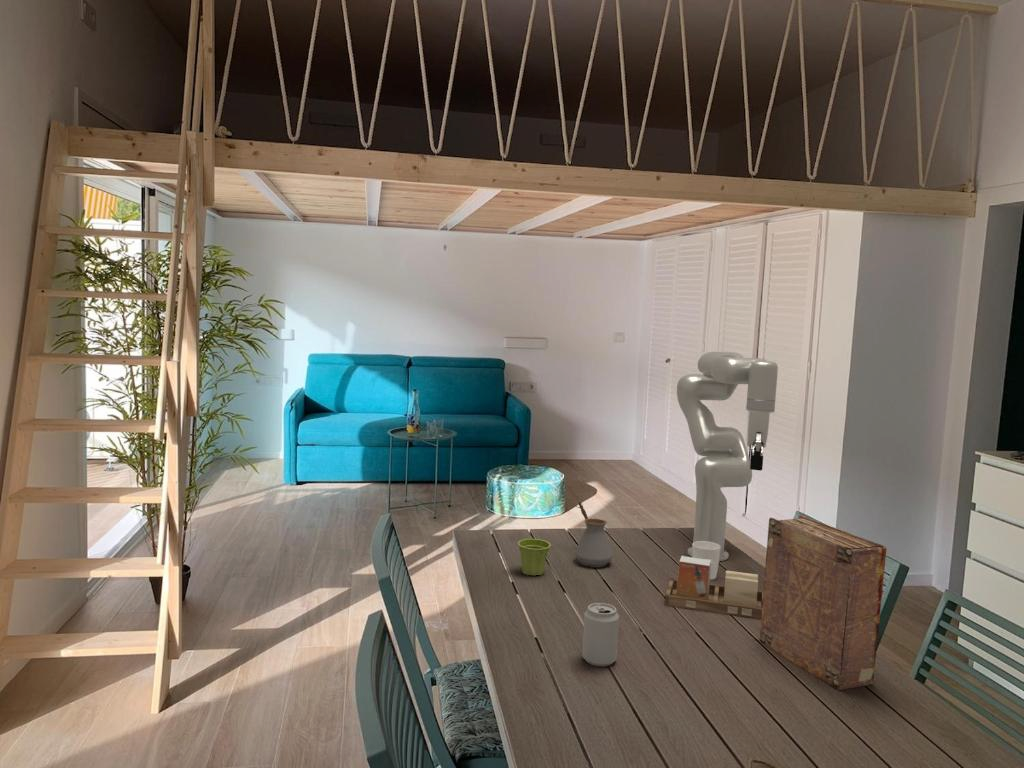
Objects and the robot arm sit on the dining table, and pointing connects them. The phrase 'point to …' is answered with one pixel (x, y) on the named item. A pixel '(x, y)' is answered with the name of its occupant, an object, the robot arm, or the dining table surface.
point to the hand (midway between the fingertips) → (755, 466)
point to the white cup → (707, 554)
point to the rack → (713, 602)
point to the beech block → (741, 588)
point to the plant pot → (533, 555)
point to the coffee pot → (593, 543)
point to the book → (823, 600)
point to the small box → (693, 578)
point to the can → (600, 634)
